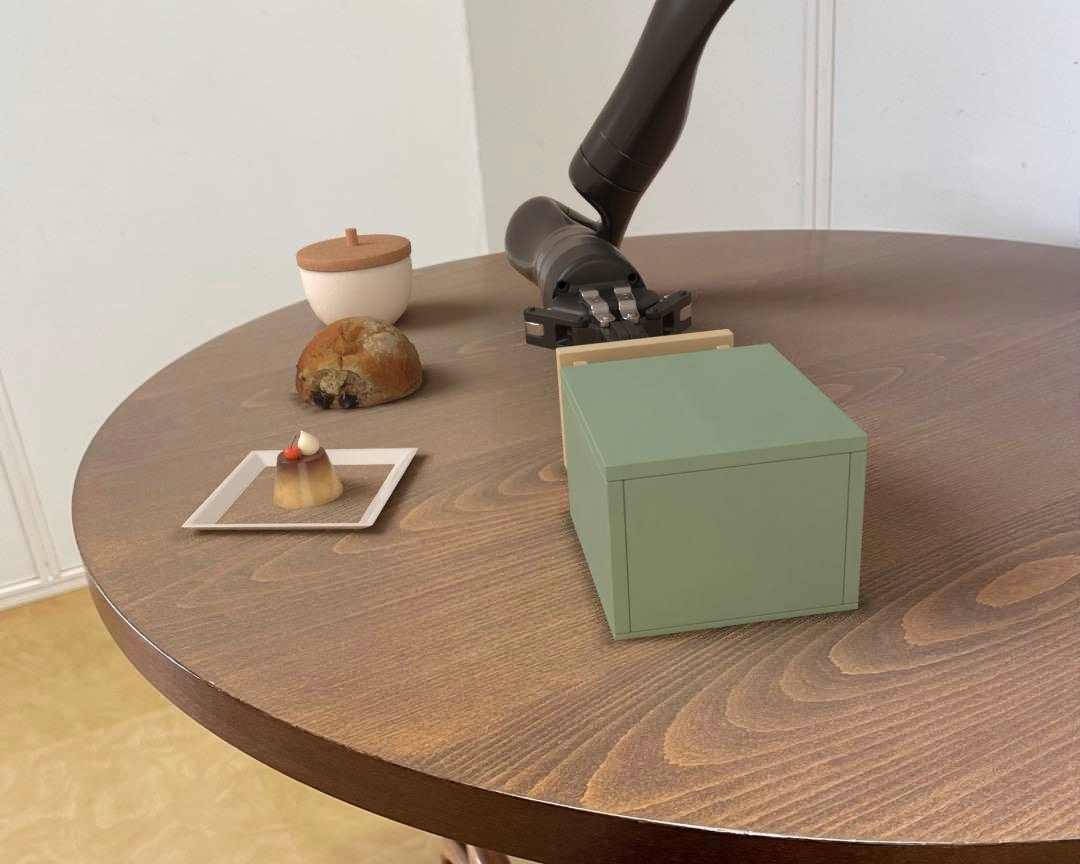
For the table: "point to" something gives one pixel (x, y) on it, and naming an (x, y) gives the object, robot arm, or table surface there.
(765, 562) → the cabinet
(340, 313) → the trinket box
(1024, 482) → the table surface
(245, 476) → the dessert
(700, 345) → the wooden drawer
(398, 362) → the bread roll
